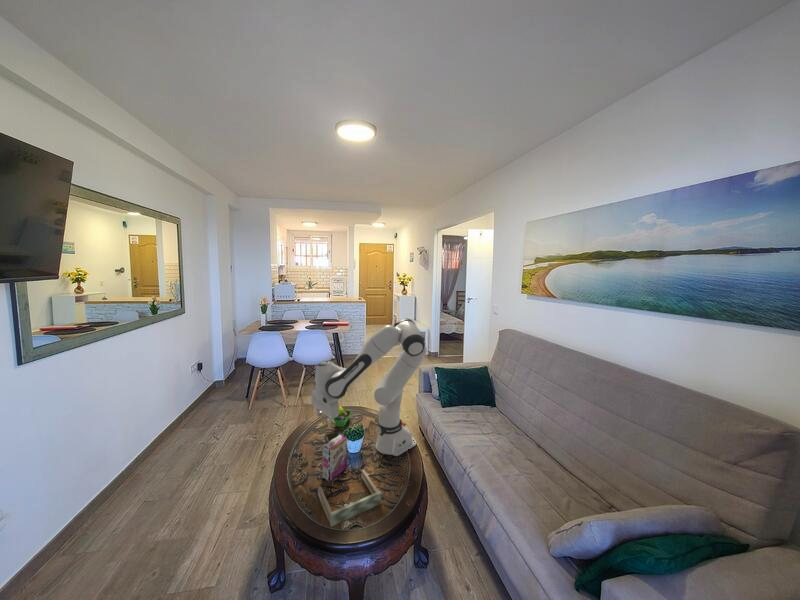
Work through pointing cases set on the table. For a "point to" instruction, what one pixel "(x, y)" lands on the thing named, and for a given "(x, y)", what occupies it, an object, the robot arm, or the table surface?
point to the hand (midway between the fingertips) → (324, 418)
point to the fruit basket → (342, 417)
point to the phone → (331, 436)
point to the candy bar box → (334, 457)
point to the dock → (354, 507)
